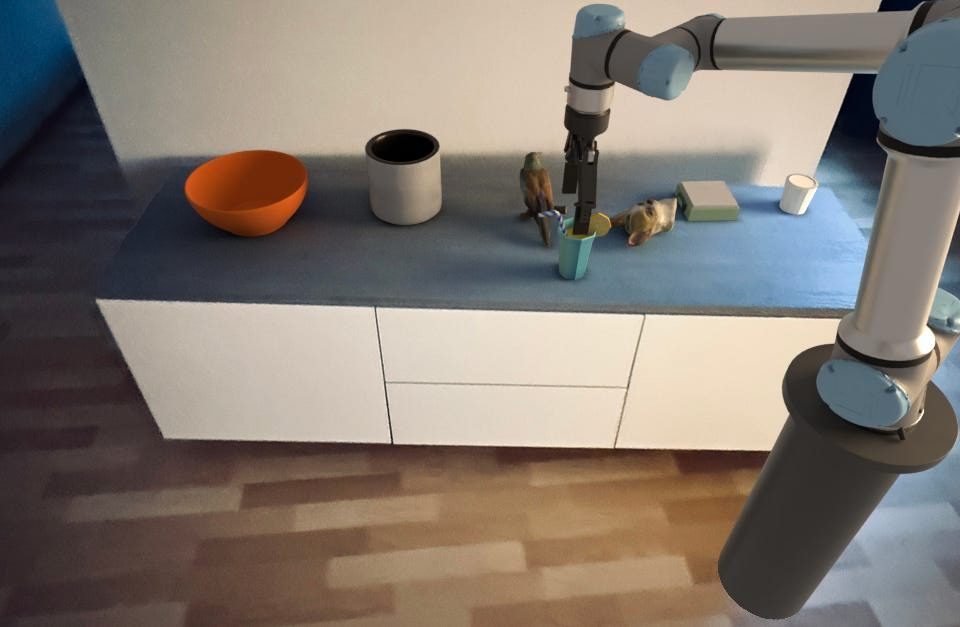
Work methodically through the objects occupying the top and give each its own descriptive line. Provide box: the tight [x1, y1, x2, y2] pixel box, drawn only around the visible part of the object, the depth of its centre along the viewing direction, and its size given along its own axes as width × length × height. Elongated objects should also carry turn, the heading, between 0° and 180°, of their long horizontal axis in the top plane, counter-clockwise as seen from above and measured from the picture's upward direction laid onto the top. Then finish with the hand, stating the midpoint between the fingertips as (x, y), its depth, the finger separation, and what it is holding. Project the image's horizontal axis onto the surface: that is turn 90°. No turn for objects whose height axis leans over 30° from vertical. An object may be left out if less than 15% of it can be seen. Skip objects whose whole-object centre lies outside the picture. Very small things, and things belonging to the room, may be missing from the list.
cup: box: [538, 210, 612, 281], centre depth 131 cm, size 14×8×15 cm, turn 96°
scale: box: [674, 180, 741, 222], centre depth 153 cm, size 11×12×4 cm
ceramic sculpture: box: [609, 197, 678, 247], centre depth 143 cm, size 11×9×15 cm
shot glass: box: [779, 173, 819, 215], centre depth 152 cm, size 7×7×7 cm
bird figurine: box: [519, 151, 568, 248], centre depth 145 cm, size 13×10×20 cm
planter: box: [364, 128, 443, 226], centre depth 147 cm, size 16×16×16 cm
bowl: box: [184, 149, 309, 237], centre depth 145 cm, size 25×25×10 cm
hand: (574, 212), depth 126 cm, fingers open, 13 cm apart
